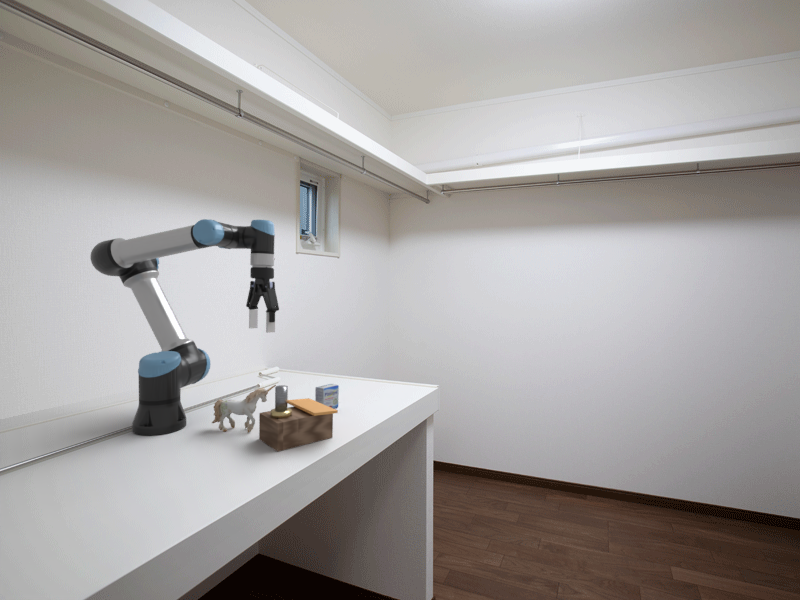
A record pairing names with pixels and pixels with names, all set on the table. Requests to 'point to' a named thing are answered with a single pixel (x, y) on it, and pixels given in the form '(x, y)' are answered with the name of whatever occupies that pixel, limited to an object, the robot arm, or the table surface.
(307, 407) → the latch flap
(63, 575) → the table surface
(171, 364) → the robot arm
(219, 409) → the unicorn figurine
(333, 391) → the medicine box
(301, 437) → the block
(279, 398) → the pin
